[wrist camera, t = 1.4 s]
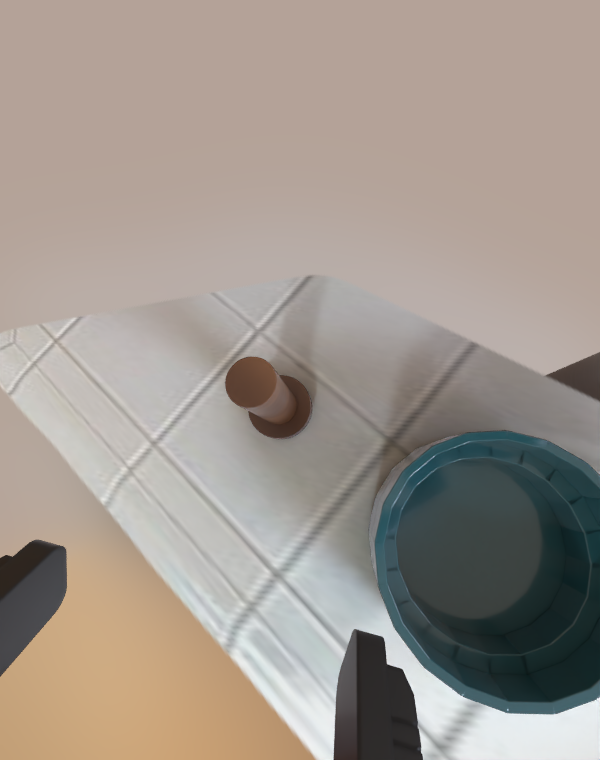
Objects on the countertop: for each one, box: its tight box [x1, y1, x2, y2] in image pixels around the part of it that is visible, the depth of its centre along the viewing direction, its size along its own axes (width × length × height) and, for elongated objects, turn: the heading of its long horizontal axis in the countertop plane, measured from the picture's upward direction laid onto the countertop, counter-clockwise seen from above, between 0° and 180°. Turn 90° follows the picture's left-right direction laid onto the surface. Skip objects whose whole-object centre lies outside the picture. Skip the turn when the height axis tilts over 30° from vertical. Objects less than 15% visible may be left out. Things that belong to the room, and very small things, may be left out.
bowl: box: [369, 430, 600, 714], centre depth 24 cm, size 15×15×6 cm
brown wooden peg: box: [225, 357, 312, 439], centre depth 26 cm, size 5×5×11 cm
